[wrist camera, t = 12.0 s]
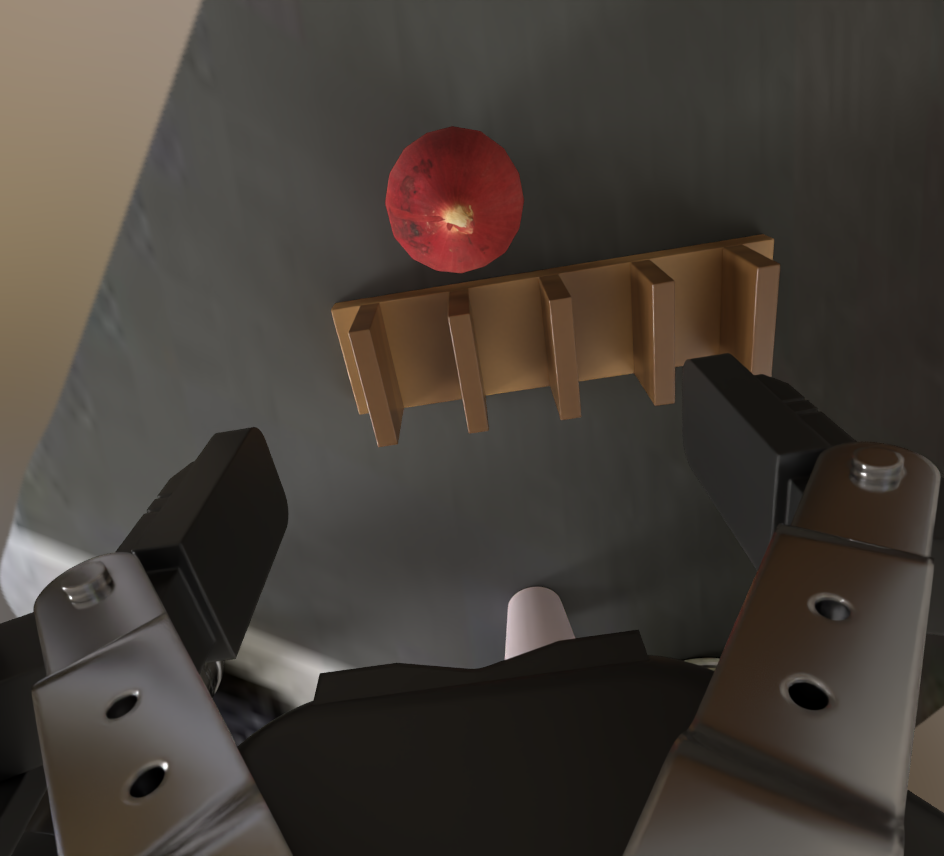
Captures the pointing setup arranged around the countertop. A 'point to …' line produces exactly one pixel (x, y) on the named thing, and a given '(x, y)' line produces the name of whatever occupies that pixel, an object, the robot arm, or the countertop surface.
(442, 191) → the red round piece
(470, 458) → the countertop surface
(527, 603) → the smoothie
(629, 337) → the dish rack
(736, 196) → the countertop surface
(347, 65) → the countertop surface
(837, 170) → the countertop surface
